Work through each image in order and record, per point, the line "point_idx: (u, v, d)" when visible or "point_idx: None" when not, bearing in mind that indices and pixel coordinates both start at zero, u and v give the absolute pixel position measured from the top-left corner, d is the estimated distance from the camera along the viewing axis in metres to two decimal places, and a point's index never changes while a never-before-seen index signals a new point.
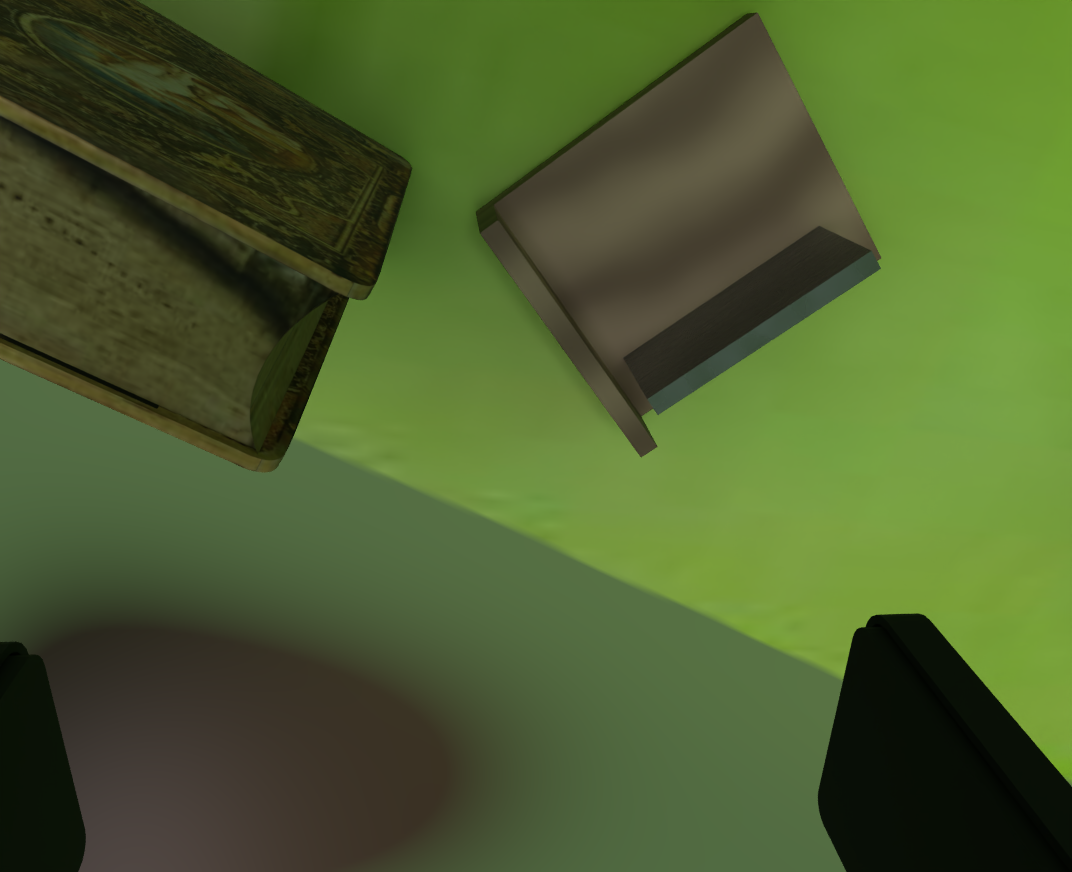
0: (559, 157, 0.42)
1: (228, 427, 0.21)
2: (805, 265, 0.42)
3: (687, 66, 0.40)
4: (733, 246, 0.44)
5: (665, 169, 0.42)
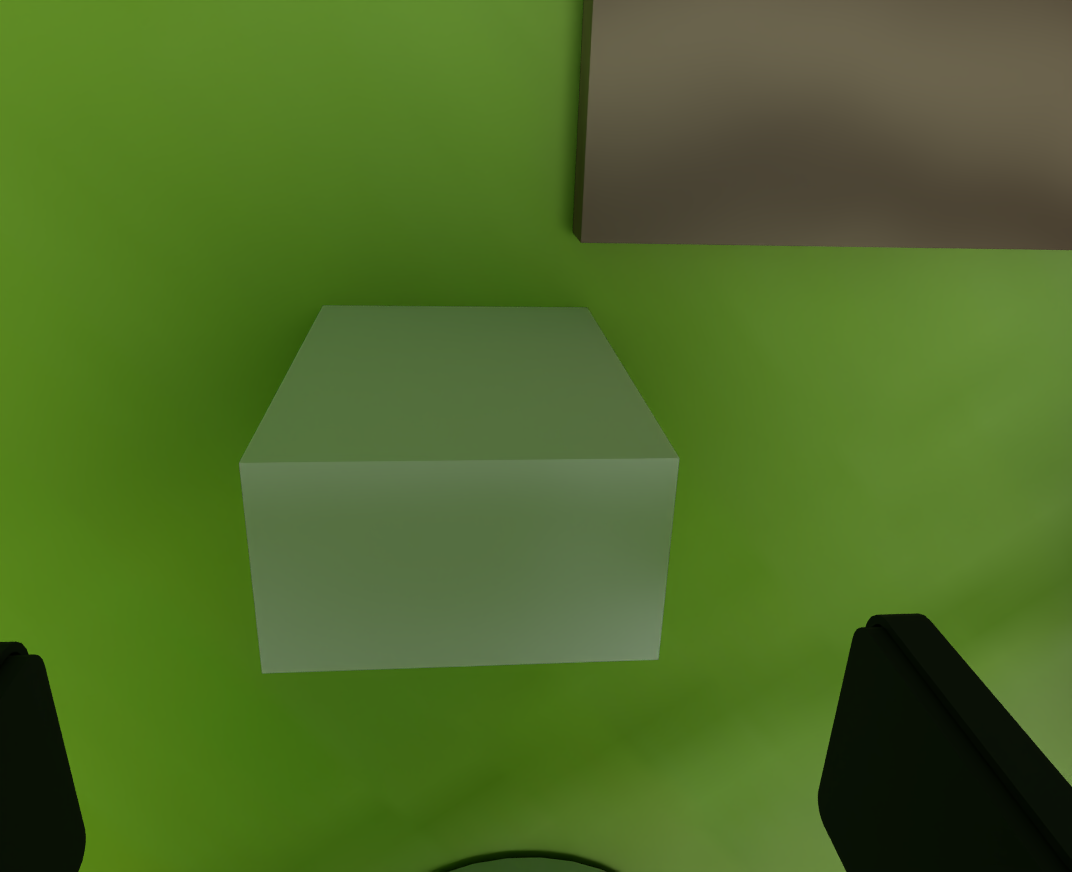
0: (1007, 247, 0.22)
1: None
2: None
3: (735, 240, 0.21)
4: None
5: (884, 97, 0.20)
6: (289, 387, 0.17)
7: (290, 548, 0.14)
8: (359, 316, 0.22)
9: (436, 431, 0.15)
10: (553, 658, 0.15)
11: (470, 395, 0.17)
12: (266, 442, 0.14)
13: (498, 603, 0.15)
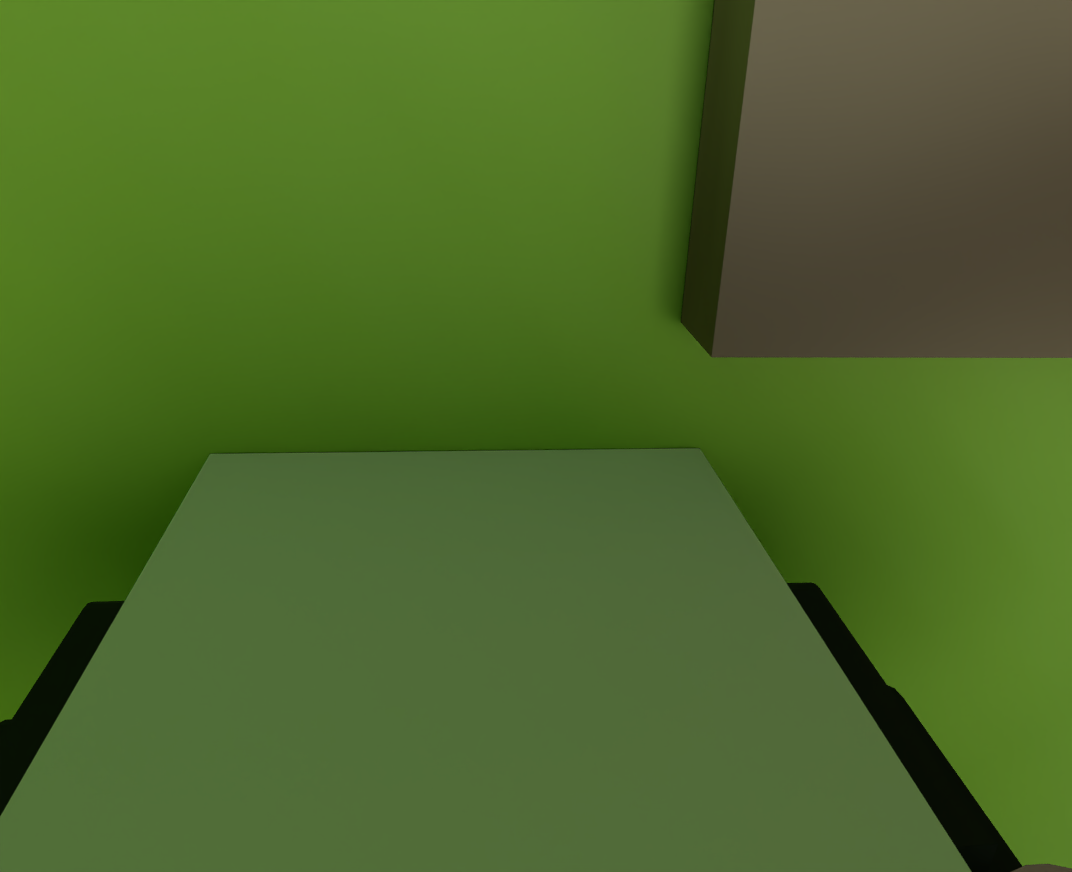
0: None
1: None
2: None
3: (1011, 349, 0.11)
4: None
5: None
6: (14, 839, 0.06)
7: None
8: (272, 489, 0.11)
9: None
10: None
11: (506, 869, 0.06)
12: None
13: None
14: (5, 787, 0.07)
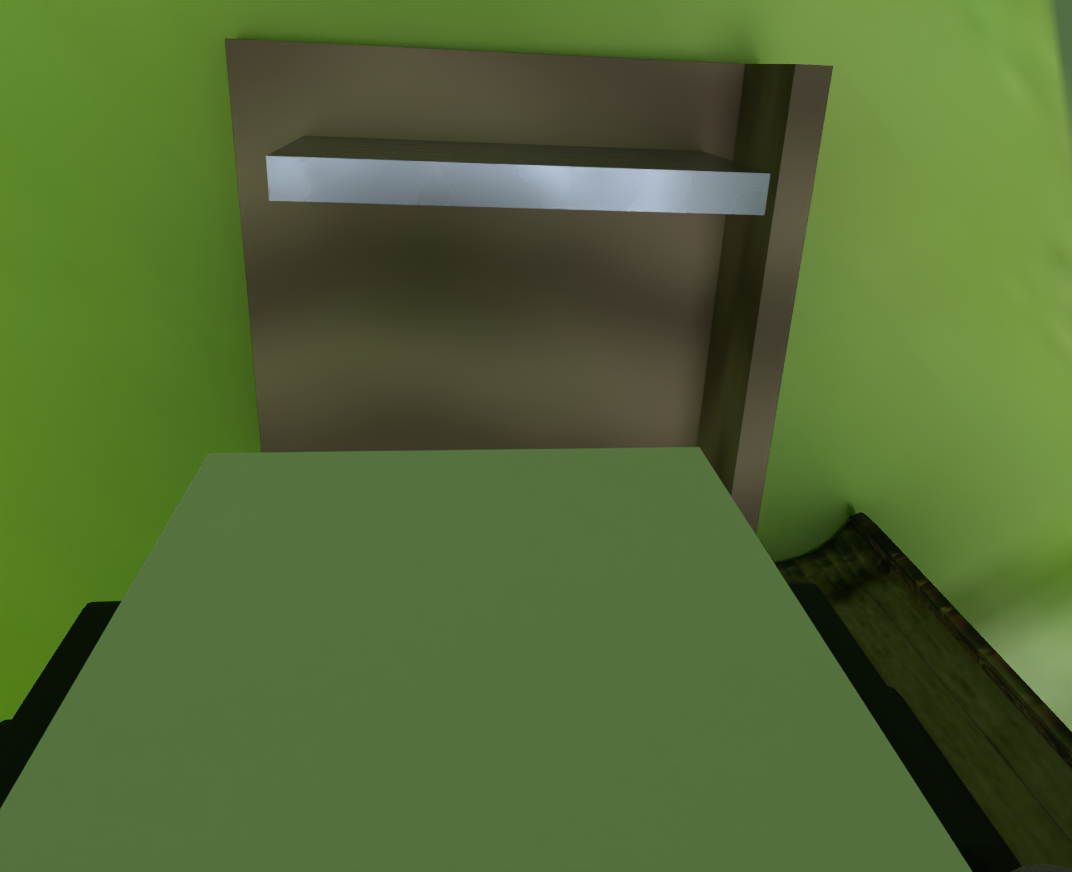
0: None
1: None
2: None
3: None
4: (446, 232, 0.27)
5: (473, 393, 0.29)
6: (9, 840, 0.06)
7: None
8: (270, 488, 0.11)
9: None
10: None
11: (503, 869, 0.06)
12: None
13: None
14: (5, 787, 0.07)
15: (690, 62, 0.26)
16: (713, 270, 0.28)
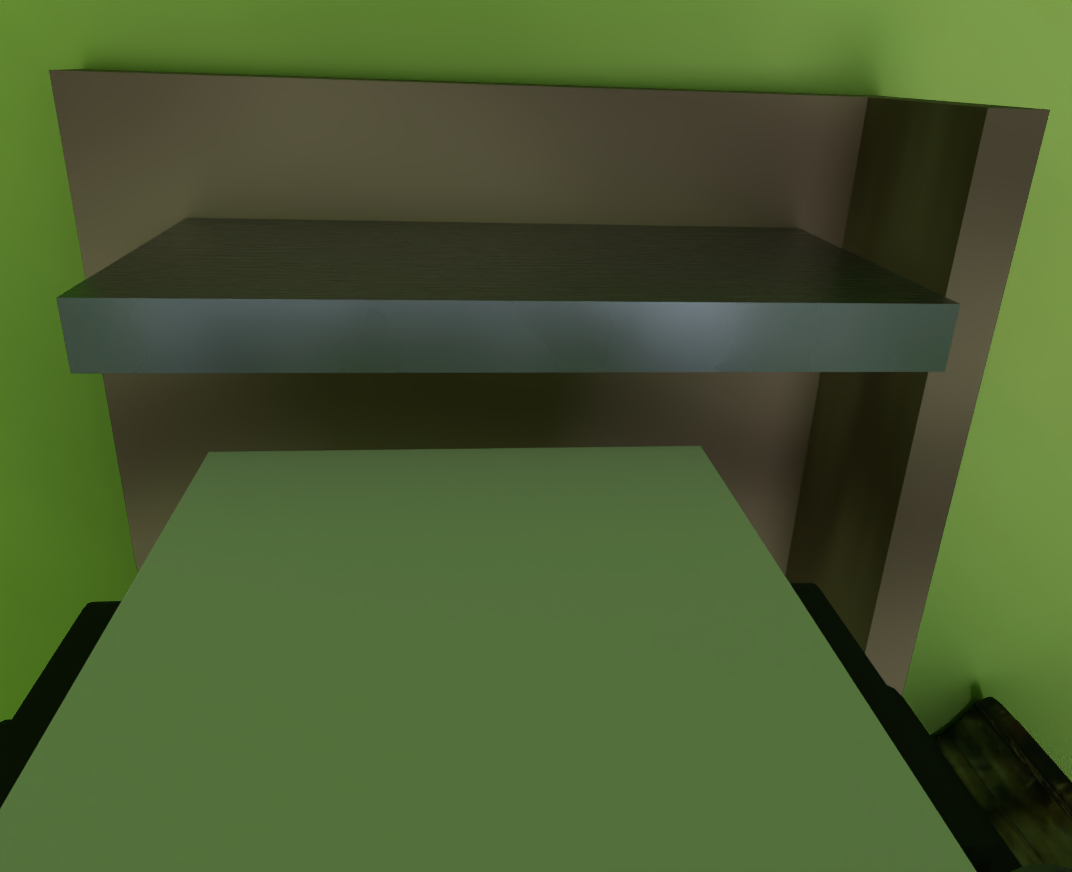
0: None
1: None
2: None
3: None
4: None
5: None
6: (10, 838, 0.06)
7: None
8: (271, 487, 0.11)
9: None
10: None
11: (505, 866, 0.06)
12: None
13: None
14: (5, 787, 0.07)
15: (784, 96, 0.16)
16: (808, 397, 0.19)
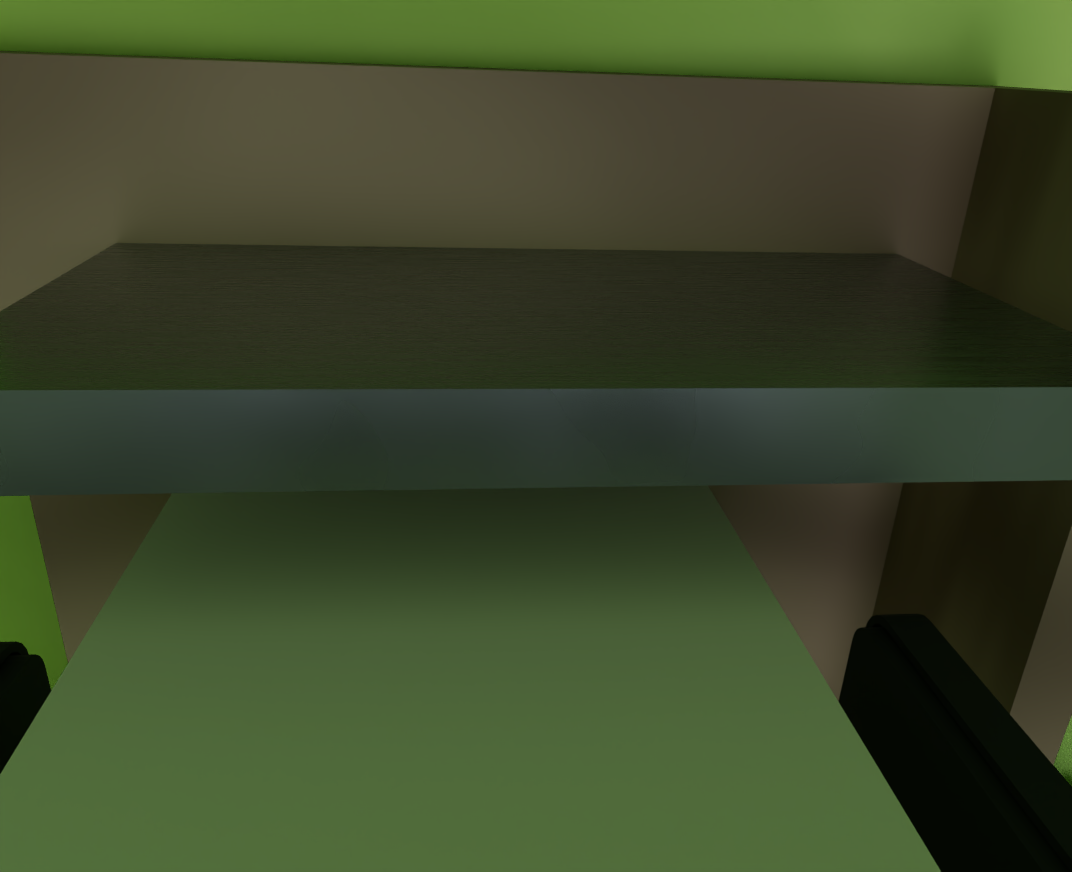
0: None
1: None
2: None
3: None
4: None
5: None
6: (89, 664, 0.08)
7: None
8: None
9: (389, 861, 0.06)
10: None
11: (472, 688, 0.08)
12: None
13: None
14: None
15: (888, 86, 0.13)
16: None
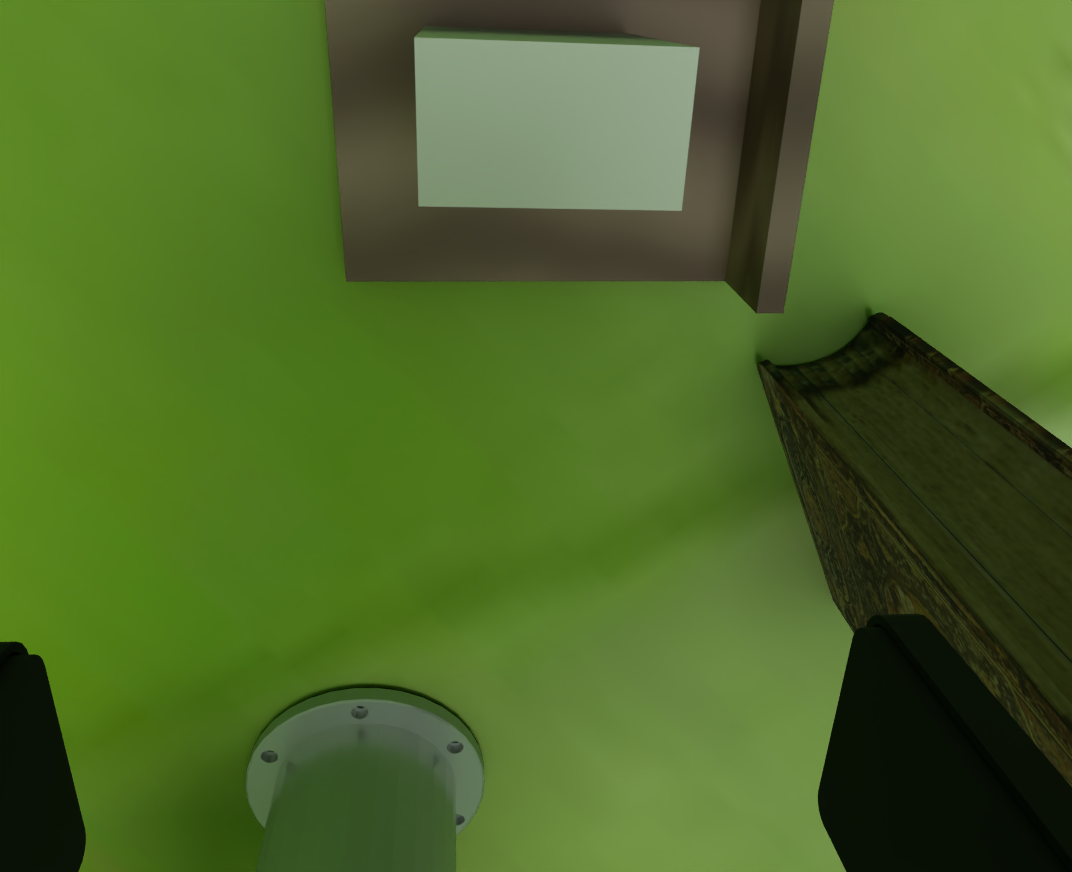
0: (629, 280, 0.34)
1: None
2: None
3: (446, 278, 0.34)
4: None
5: None
6: (426, 32, 0.24)
7: (442, 106, 0.21)
8: (455, 28, 0.29)
9: (535, 39, 0.22)
10: (610, 205, 0.23)
11: (553, 37, 0.24)
12: (426, 36, 0.21)
13: (576, 158, 0.22)
14: None
15: None
16: (747, 70, 0.31)
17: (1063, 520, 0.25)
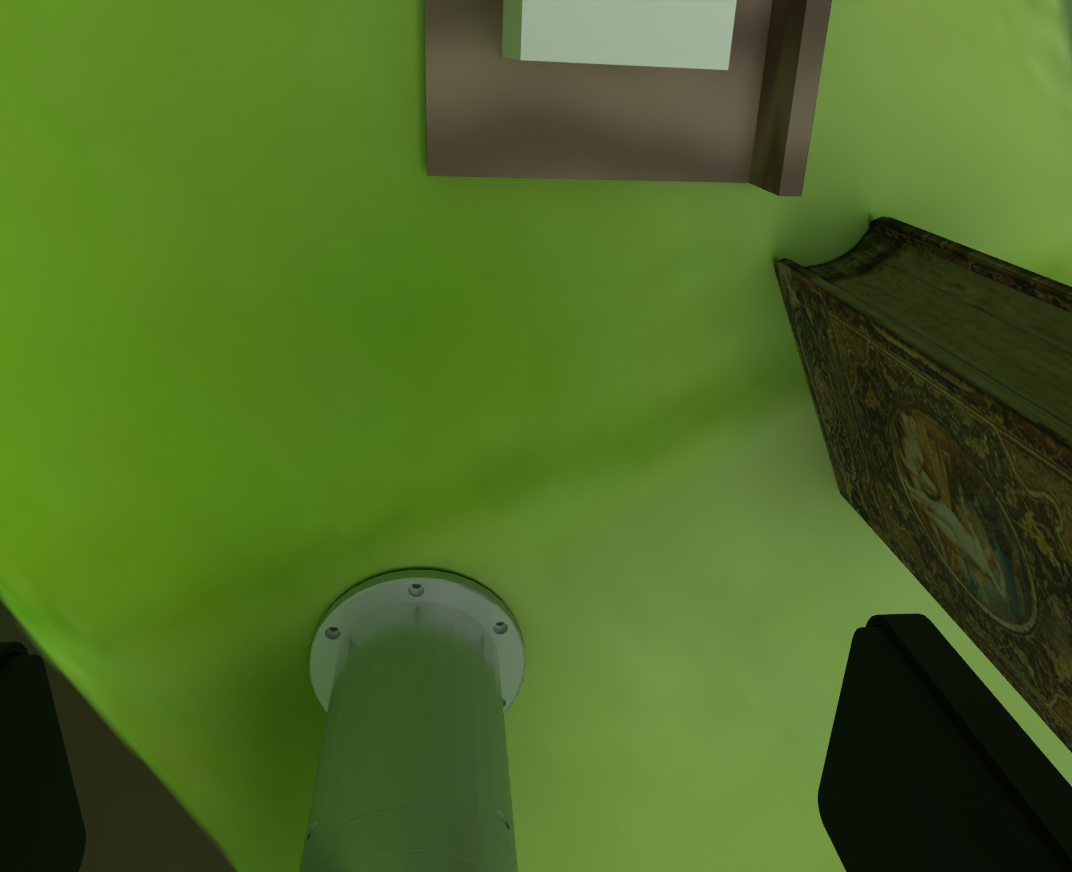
0: (667, 180, 0.40)
1: None
2: None
3: (512, 175, 0.39)
4: None
5: (586, 97, 0.38)
6: None
7: None
8: None
9: None
10: (672, 64, 0.29)
11: None
12: None
13: (646, 22, 0.28)
14: None
15: None
16: None
17: (1038, 330, 0.30)
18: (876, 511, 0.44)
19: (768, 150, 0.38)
